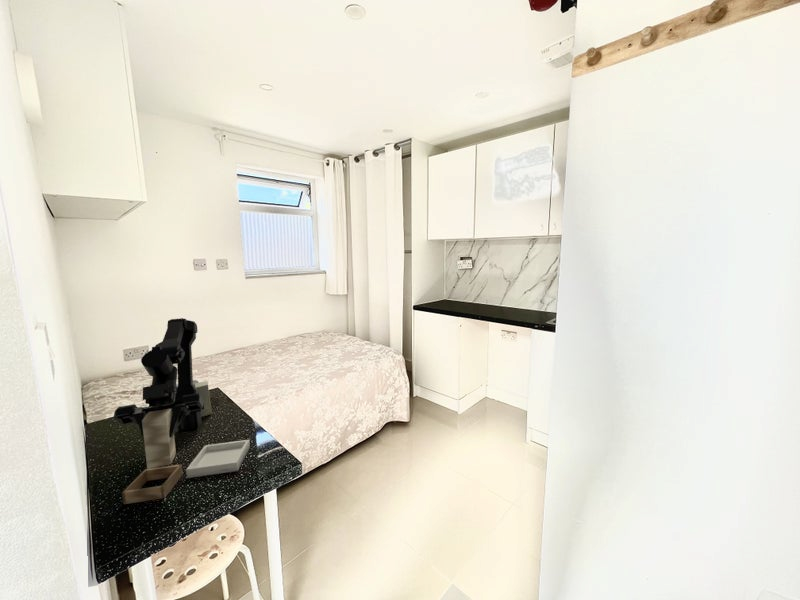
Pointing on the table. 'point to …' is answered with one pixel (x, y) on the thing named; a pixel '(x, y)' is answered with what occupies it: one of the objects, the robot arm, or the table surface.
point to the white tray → (218, 458)
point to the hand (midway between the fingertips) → (158, 439)
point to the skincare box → (204, 397)
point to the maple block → (158, 438)
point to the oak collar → (152, 493)
